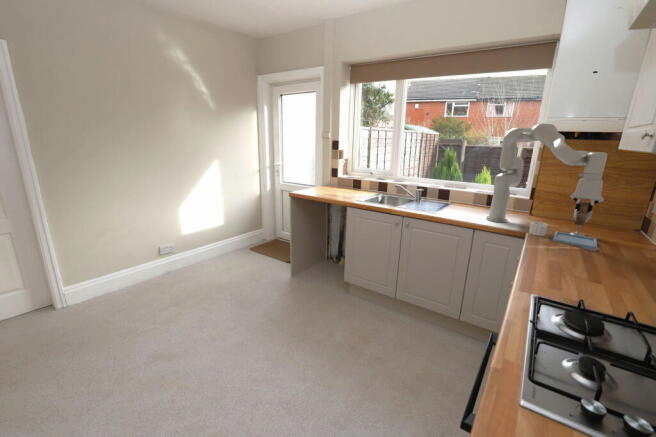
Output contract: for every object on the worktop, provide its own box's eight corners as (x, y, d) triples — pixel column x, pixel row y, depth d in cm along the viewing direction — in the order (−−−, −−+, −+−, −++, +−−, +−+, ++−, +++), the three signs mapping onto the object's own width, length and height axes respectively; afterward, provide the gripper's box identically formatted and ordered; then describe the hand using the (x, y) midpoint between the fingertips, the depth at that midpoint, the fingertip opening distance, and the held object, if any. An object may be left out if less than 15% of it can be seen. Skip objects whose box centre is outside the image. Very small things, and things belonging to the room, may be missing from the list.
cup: (525, 232, 179) (528, 221, 177) (538, 233, 179) (541, 221, 177) (534, 237, 171) (537, 225, 169) (548, 237, 171) (551, 225, 169)
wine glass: (570, 234, 178) (576, 210, 173) (567, 231, 184) (573, 207, 180) (587, 237, 174) (594, 212, 170) (583, 233, 181) (590, 209, 177)
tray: (552, 242, 163) (553, 238, 163) (554, 234, 177) (555, 231, 176) (595, 251, 152) (597, 247, 152) (595, 242, 166) (596, 238, 165)
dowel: (572, 223, 163) (578, 201, 160) (580, 223, 163) (585, 201, 160) (578, 225, 160) (584, 203, 156) (586, 225, 160) (592, 203, 156)
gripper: (571, 175, 157) (562, 209, 162) (614, 179, 147) (604, 215, 152) (571, 174, 163) (563, 207, 167) (613, 177, 152) (603, 213, 157)
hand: (582, 211), depth 160 cm, fingers closed on dowel, 4 cm apart
